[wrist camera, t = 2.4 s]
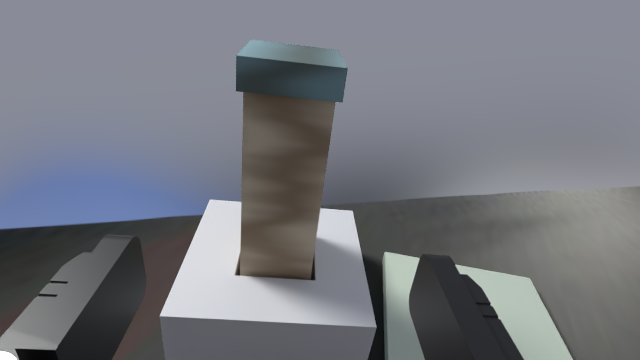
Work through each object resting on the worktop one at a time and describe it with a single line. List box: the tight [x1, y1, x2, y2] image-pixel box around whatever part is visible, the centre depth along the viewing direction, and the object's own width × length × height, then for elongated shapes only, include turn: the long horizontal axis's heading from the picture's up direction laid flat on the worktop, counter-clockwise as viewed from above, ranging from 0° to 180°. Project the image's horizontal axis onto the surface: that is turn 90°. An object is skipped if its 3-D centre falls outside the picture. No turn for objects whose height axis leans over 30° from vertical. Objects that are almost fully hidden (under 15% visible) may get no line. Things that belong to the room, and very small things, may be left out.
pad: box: [382, 252, 573, 360], centre depth 25 cm, size 12×12×1 cm
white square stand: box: [160, 200, 377, 360], centre depth 26 cm, size 12×12×4 cm
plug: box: [236, 40, 347, 280], centre depth 23 cm, size 5×5×17 cm
